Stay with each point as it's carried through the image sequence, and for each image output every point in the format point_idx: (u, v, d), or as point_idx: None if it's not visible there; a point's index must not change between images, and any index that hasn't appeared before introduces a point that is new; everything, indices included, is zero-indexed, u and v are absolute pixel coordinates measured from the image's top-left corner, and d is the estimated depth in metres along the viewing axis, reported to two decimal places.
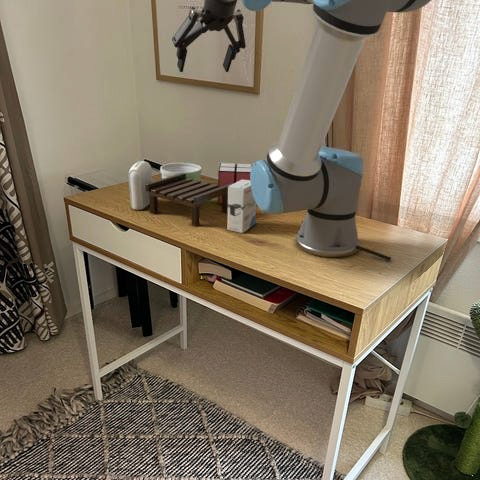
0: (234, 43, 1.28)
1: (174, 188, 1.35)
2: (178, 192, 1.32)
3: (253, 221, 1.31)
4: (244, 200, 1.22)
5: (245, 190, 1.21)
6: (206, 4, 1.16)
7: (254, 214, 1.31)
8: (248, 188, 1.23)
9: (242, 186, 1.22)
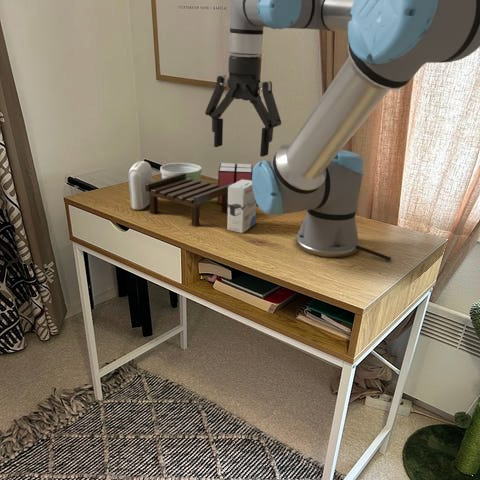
0: (263, 118, 1.14)
1: (174, 188, 1.35)
2: (178, 192, 1.32)
3: (253, 221, 1.31)
4: (244, 200, 1.22)
5: (245, 190, 1.21)
6: None
7: (254, 214, 1.31)
8: (248, 188, 1.23)
9: (242, 186, 1.22)
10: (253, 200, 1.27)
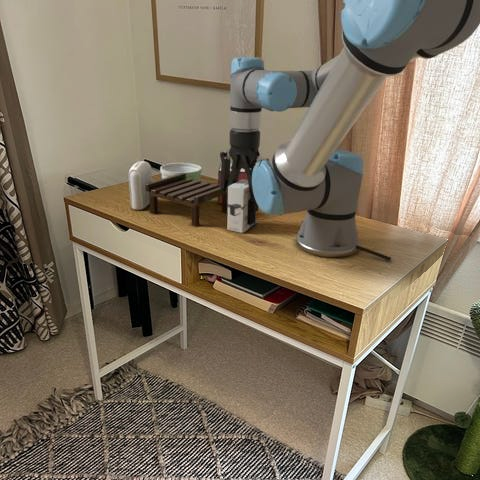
0: (251, 190, 1.23)
1: (174, 188, 1.35)
2: (178, 192, 1.32)
3: None
4: (244, 200, 1.22)
5: (245, 190, 1.21)
6: None
7: None
8: (248, 188, 1.23)
9: (242, 186, 1.22)
10: None
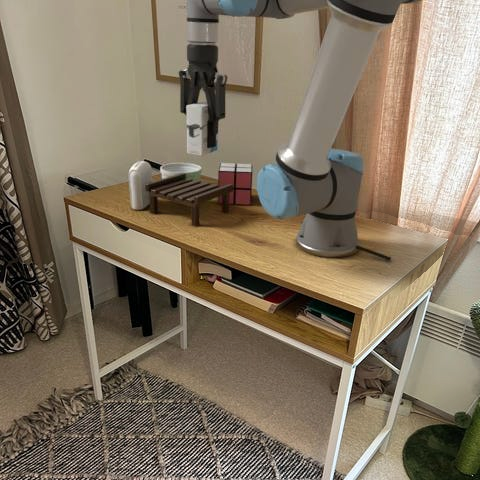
0: (210, 109, 1.20)
1: (174, 188, 1.35)
2: (178, 192, 1.32)
3: None
4: (202, 120, 1.20)
5: (203, 109, 1.19)
6: None
7: None
8: (207, 107, 1.20)
9: (201, 105, 1.20)
10: None
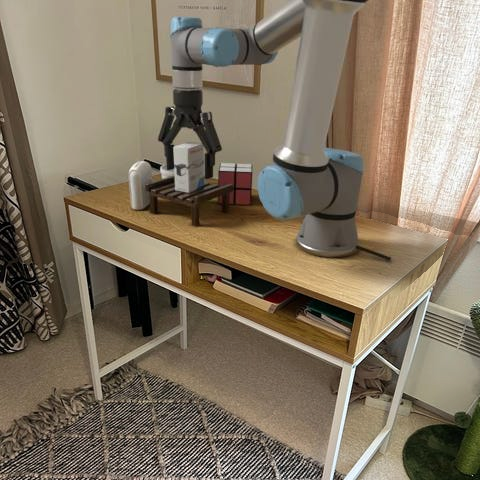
0: (205, 144, 1.25)
1: (174, 188, 1.35)
2: (178, 192, 1.32)
3: (201, 183, 1.36)
4: (189, 160, 1.27)
5: (189, 150, 1.26)
6: None
7: (202, 176, 1.35)
8: (193, 148, 1.28)
9: (187, 146, 1.27)
10: (199, 161, 1.32)
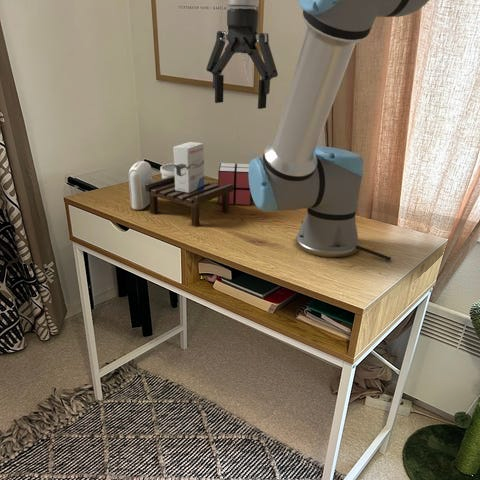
0: (260, 69, 1.17)
1: (174, 188, 1.35)
2: (178, 192, 1.32)
3: (201, 183, 1.36)
4: (189, 160, 1.27)
5: (189, 150, 1.26)
6: None
7: (202, 176, 1.35)
8: (193, 148, 1.28)
9: (187, 146, 1.27)
10: (199, 161, 1.32)
